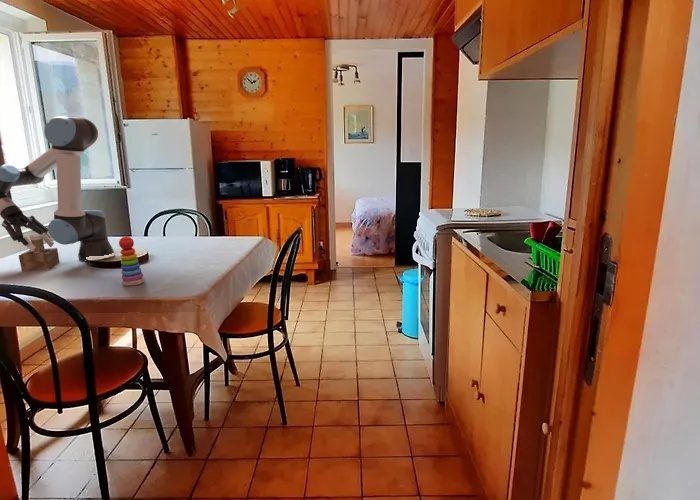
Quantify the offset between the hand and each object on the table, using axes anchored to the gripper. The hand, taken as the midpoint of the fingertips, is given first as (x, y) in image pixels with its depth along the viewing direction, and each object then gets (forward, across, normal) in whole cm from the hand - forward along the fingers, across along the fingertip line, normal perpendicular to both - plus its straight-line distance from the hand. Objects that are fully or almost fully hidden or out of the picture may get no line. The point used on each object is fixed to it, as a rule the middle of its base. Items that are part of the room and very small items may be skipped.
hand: (43, 247), depth 194 cm
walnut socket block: (+4, 0, -9) cm, 10 cm away
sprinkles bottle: (+3, 0, -8) cm, 9 cm away
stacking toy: (+46, +11, +33) cm, 58 cm away
